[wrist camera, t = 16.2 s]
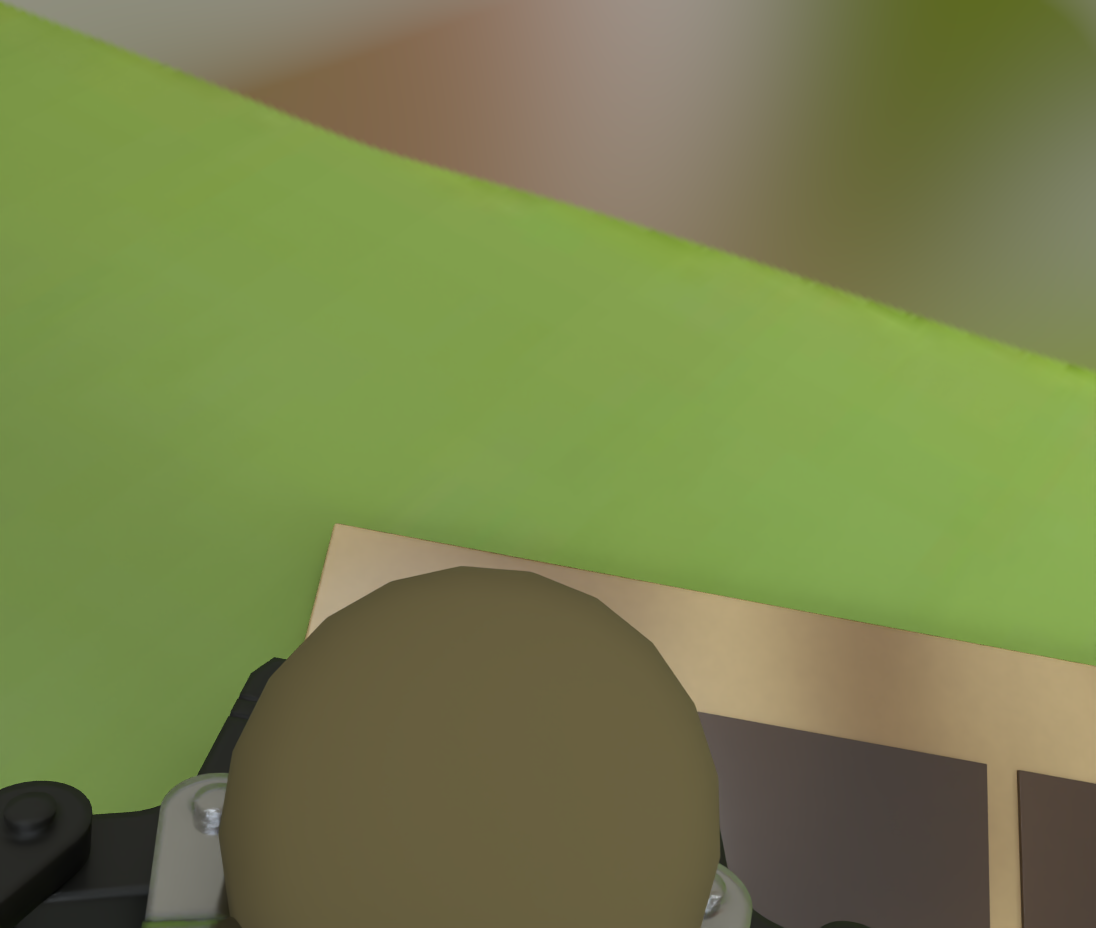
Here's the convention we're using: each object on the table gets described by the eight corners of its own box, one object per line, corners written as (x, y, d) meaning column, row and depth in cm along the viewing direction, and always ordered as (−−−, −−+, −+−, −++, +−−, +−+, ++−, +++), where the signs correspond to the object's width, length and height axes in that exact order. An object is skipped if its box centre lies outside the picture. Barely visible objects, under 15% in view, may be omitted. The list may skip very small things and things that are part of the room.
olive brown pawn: (463, 637, 21) (513, 381, 11) (668, 871, 20) (934, 818, 10) (214, 846, 19) (-3, 760, 9) (425, 1126, 18) (446, 1392, 8)
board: (177, 1175, 18) (161, 1194, 17) (337, 540, 23) (334, 520, 22) (1348, 1353, 19) (1410, 1383, 18) (1265, 713, 24) (1310, 704, 23)
